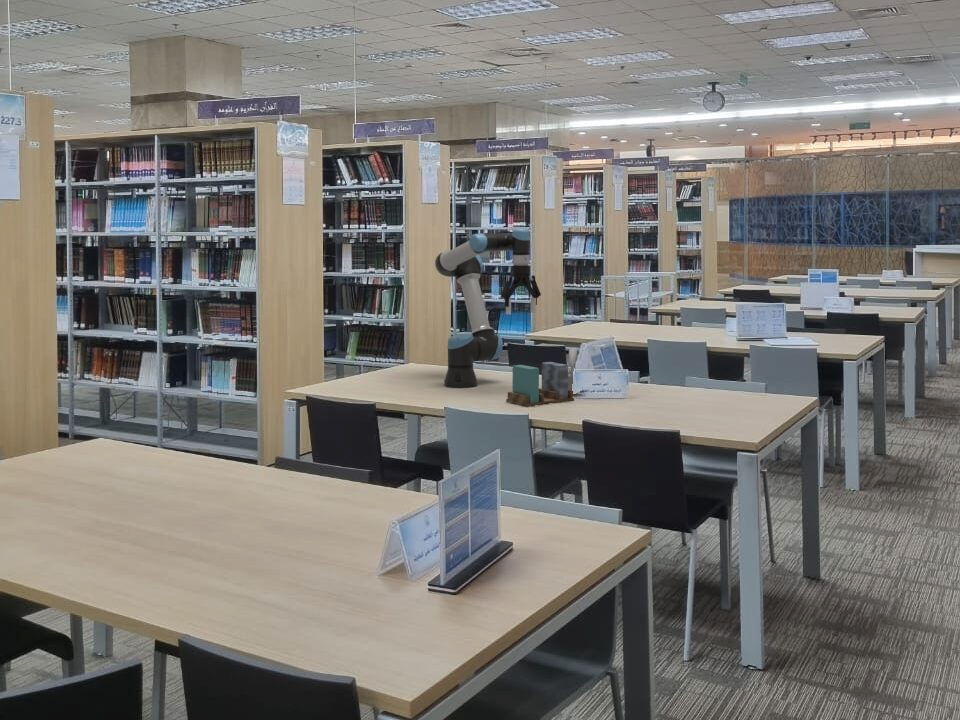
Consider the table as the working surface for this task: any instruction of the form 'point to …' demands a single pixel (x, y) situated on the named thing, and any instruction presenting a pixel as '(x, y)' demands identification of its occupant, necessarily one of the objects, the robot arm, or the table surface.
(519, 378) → the book block
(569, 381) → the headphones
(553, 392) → the rack
